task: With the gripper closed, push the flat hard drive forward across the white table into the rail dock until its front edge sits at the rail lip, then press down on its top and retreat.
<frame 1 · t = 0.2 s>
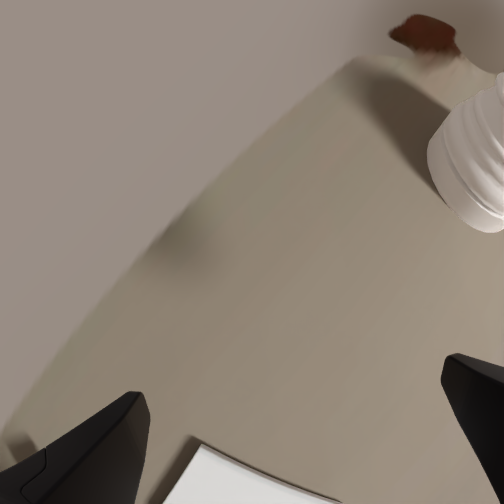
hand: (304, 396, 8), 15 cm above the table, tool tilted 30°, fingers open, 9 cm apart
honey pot: (473, 177, 28), on the table
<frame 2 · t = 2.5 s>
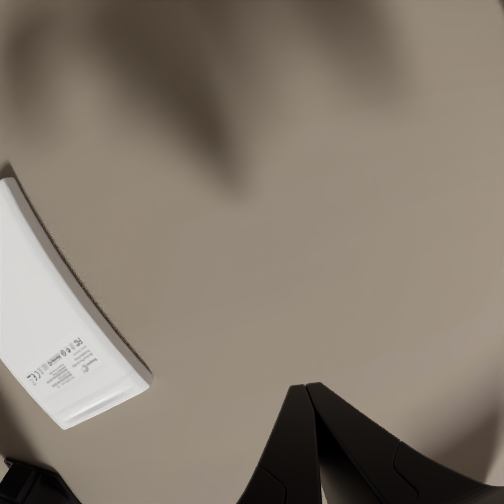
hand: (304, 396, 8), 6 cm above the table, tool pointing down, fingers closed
external hard drive: (39, 312, 15), on the table
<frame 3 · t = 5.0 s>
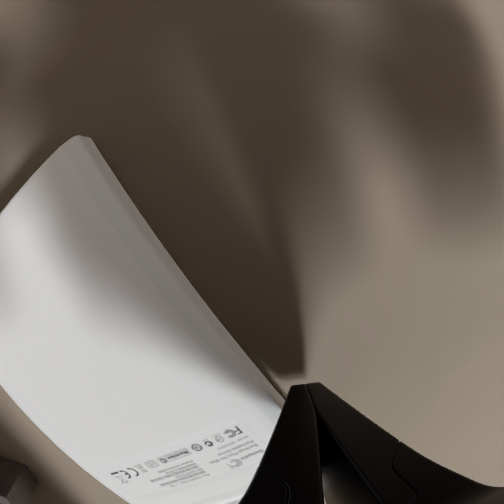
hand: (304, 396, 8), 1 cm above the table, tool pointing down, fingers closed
external hard drive: (128, 378, 10), on the table
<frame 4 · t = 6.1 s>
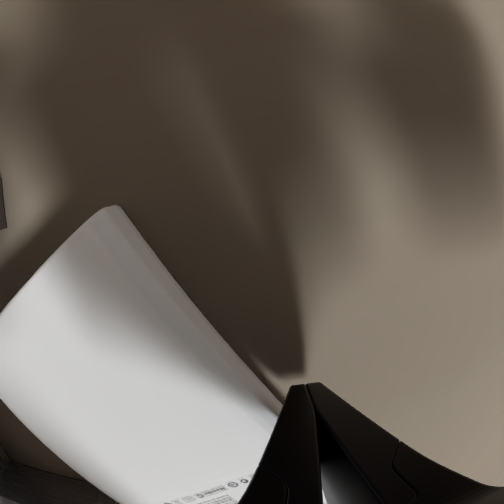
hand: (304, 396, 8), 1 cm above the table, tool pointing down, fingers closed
external hard drive: (162, 423, 10), on the table
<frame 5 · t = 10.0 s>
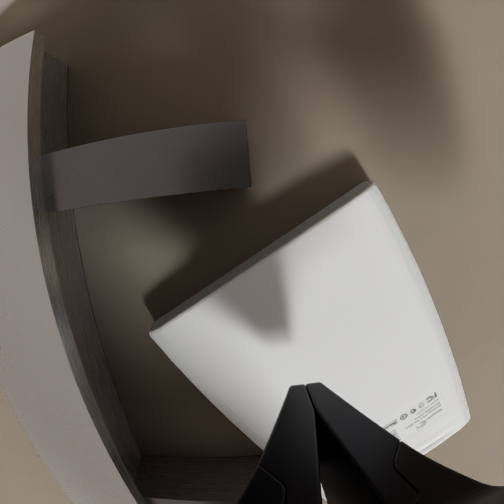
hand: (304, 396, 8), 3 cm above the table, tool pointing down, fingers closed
rail dock: (78, 355, 11), on the table
external hard drive: (342, 375, 12), on the table
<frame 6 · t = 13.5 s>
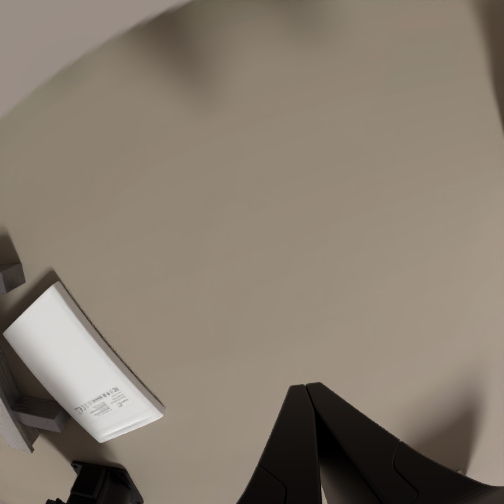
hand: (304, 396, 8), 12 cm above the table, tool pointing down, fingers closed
external hard drive: (82, 366, 22), on the table
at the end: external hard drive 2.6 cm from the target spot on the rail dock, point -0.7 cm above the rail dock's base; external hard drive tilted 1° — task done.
